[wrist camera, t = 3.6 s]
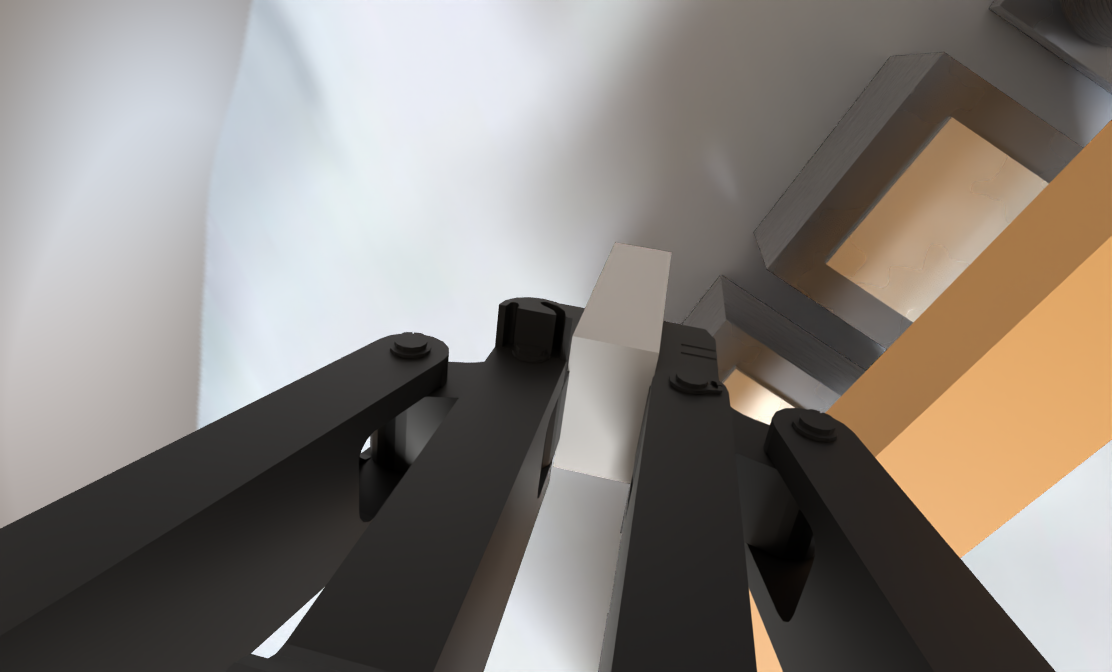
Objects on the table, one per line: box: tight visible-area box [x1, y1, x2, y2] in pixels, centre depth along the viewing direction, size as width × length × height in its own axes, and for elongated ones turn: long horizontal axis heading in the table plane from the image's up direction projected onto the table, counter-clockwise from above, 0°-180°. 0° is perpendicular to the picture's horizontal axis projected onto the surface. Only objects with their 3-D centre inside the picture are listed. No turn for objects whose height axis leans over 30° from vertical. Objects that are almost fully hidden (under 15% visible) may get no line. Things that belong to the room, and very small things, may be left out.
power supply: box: [754, 52, 1083, 349], centre depth 20 cm, size 8×7×5 cm
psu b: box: [682, 275, 866, 425], centre depth 24 cm, size 8×7×5 cm
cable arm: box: [598, 120, 1112, 672], centre depth 14 cm, size 25×4×3 cm, turn 149°
